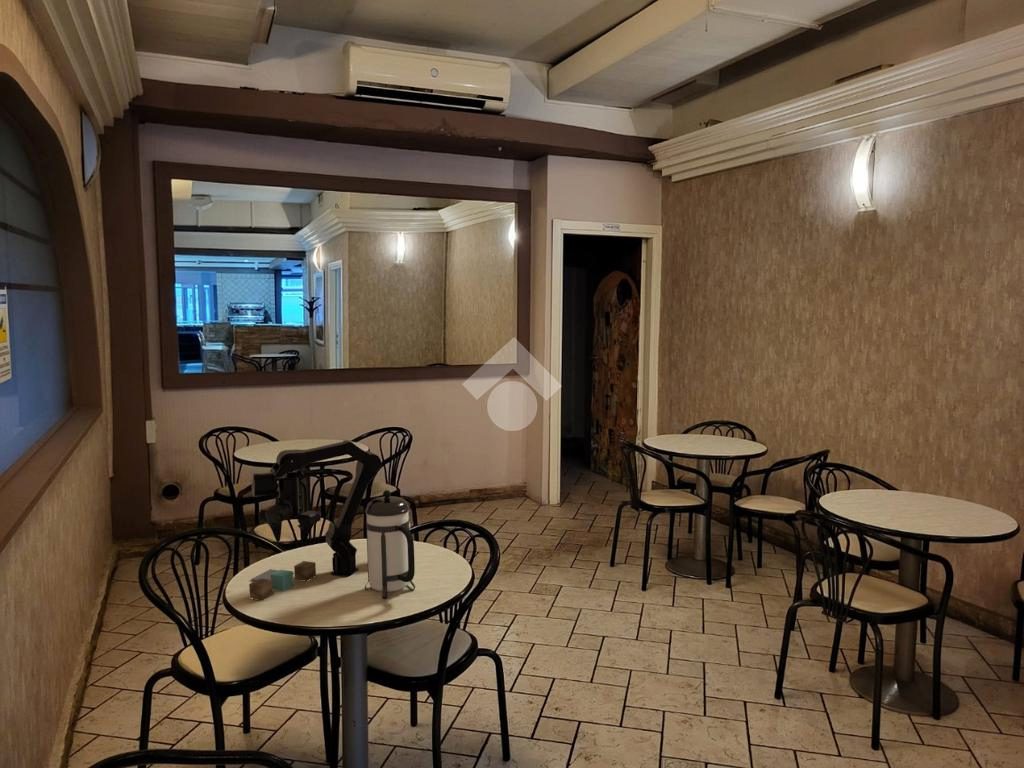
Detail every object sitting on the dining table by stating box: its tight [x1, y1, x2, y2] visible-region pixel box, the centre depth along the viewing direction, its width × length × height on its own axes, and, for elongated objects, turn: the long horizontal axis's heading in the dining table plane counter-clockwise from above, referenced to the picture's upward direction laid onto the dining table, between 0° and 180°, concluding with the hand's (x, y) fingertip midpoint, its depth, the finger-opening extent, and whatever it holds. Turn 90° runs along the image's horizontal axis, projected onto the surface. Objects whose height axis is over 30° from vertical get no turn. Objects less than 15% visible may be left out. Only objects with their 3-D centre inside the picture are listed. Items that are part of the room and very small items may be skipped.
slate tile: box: [250, 569, 295, 582], centre depth 226 cm, size 9×9×1 cm
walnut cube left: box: [248, 579, 274, 601], centre depth 211 cm, size 4×4×4 cm
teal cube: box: [271, 569, 294, 592], centre depth 218 cm, size 4×4×4 cm
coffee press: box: [364, 489, 416, 600], centre depth 213 cm, size 17×16×30 cm
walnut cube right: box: [293, 560, 317, 582], centre depth 225 cm, size 4×4×4 cm
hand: (290, 543), depth 221 cm, fingers open, 9 cm apart
